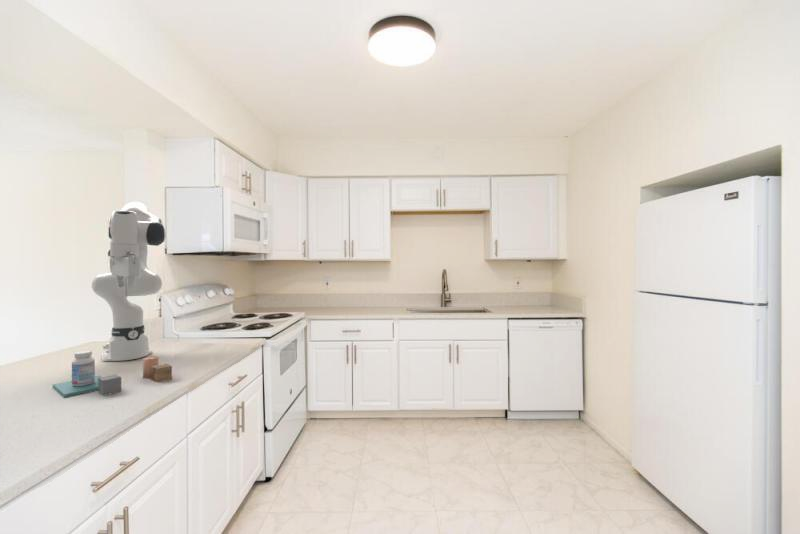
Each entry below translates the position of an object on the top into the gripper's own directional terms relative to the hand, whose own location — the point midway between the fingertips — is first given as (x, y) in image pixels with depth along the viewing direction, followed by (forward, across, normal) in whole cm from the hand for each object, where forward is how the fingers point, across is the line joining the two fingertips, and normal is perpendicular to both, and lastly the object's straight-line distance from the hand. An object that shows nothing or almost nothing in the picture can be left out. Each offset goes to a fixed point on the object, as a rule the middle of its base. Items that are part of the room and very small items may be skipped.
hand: (125, 287), depth 142 cm
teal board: (+34, -5, +14) cm, 37 cm away
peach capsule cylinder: (+34, -10, -5) cm, 36 cm away
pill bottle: (+33, -5, +14) cm, 36 cm away
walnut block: (+34, -17, -6) cm, 38 cm away
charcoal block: (+34, -18, +10) cm, 40 cm away
